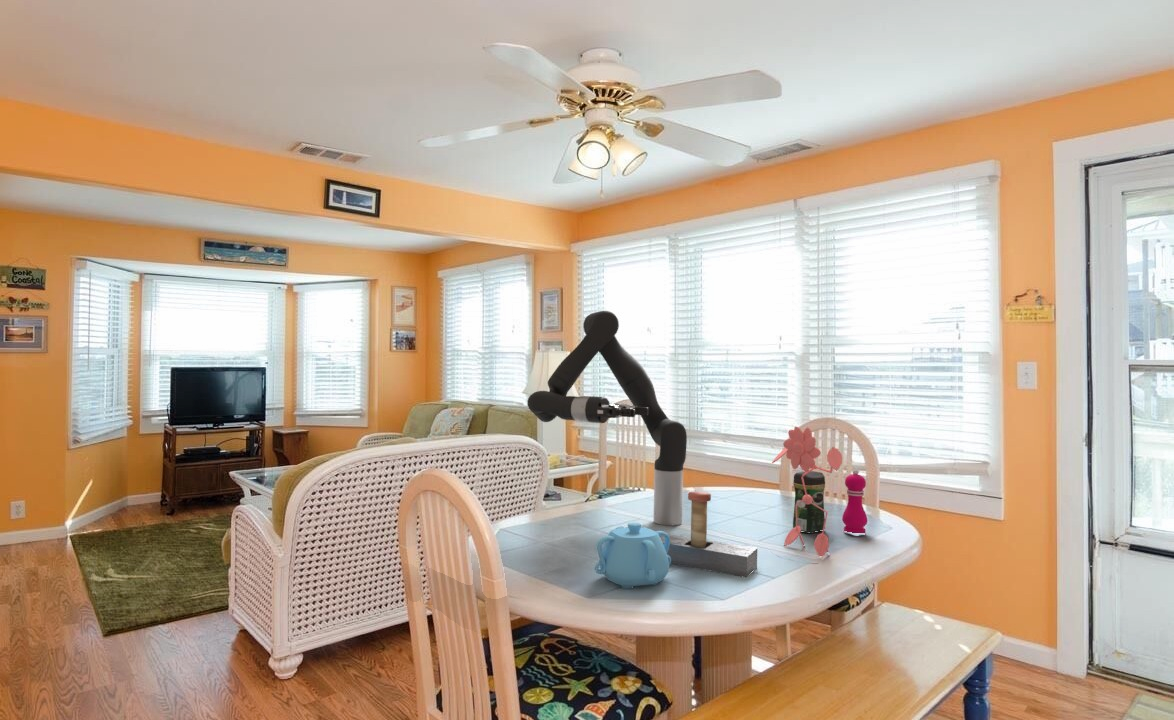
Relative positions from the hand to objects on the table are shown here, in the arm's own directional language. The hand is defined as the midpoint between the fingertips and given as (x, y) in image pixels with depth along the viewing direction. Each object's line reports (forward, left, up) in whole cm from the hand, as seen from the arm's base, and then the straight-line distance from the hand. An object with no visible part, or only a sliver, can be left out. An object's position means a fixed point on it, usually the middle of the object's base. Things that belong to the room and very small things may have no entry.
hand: (641, 412), depth 181 cm
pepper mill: (-54, +48, -38) cm, 82 cm away
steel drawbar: (+2, +18, -38) cm, 42 cm away
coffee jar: (-50, +35, -38) cm, 72 cm away
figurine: (-22, +38, -38) cm, 58 cm away
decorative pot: (+24, +10, -38) cm, 46 cm away
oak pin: (+2, +18, -38) cm, 42 cm away
